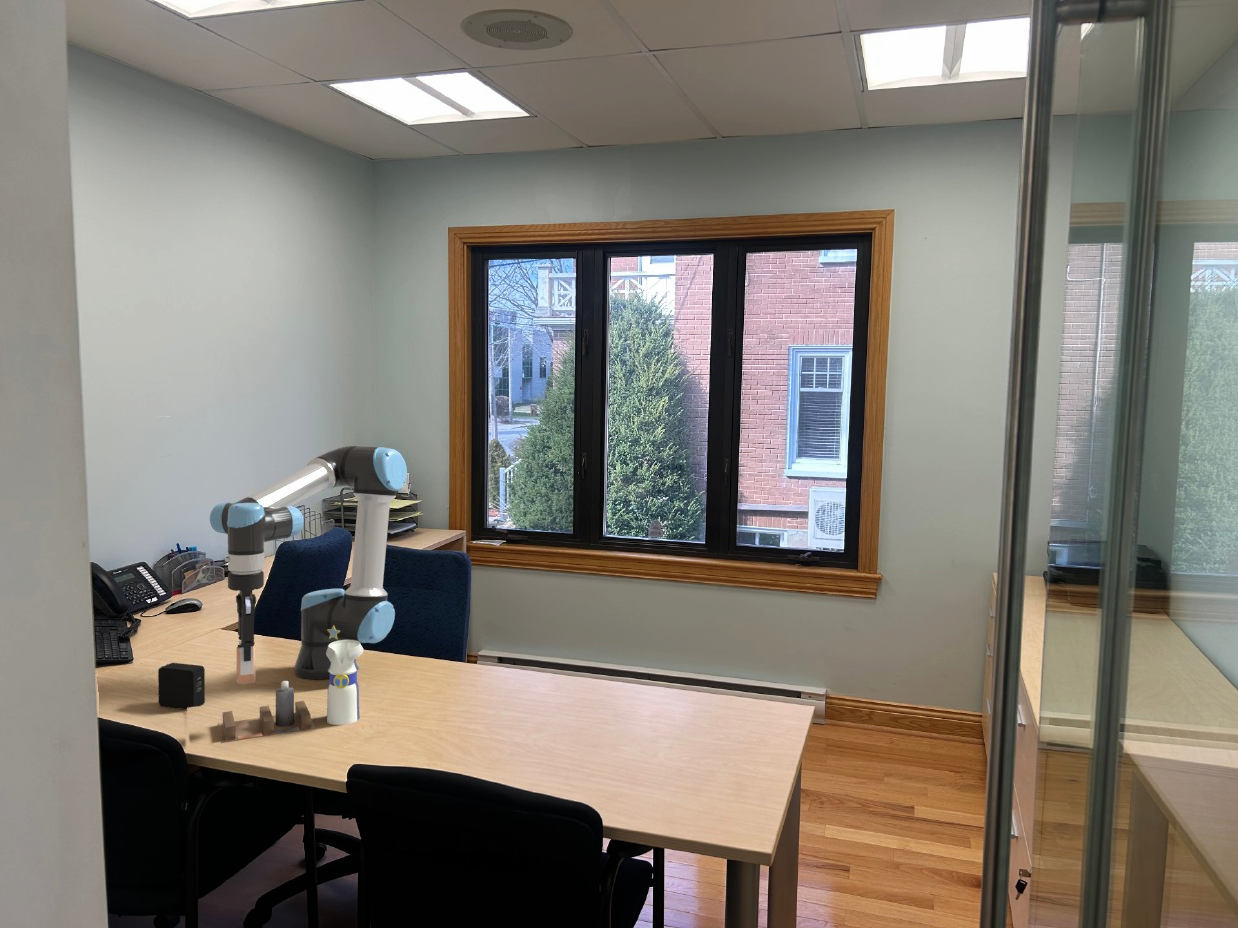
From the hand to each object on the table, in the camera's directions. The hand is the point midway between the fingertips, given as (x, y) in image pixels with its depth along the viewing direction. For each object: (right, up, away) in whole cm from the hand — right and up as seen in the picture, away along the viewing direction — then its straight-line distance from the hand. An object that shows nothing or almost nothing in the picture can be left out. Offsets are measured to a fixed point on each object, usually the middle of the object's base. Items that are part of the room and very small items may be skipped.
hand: (246, 670), depth 192 cm
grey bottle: (+7, -14, +5) cm, 16 cm away
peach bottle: (0, -2, 0) cm, 2 cm away
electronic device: (-24, -13, +17) cm, 32 cm away
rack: (+3, -15, +3) cm, 15 cm away
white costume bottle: (+20, -15, +9) cm, 26 cm away
